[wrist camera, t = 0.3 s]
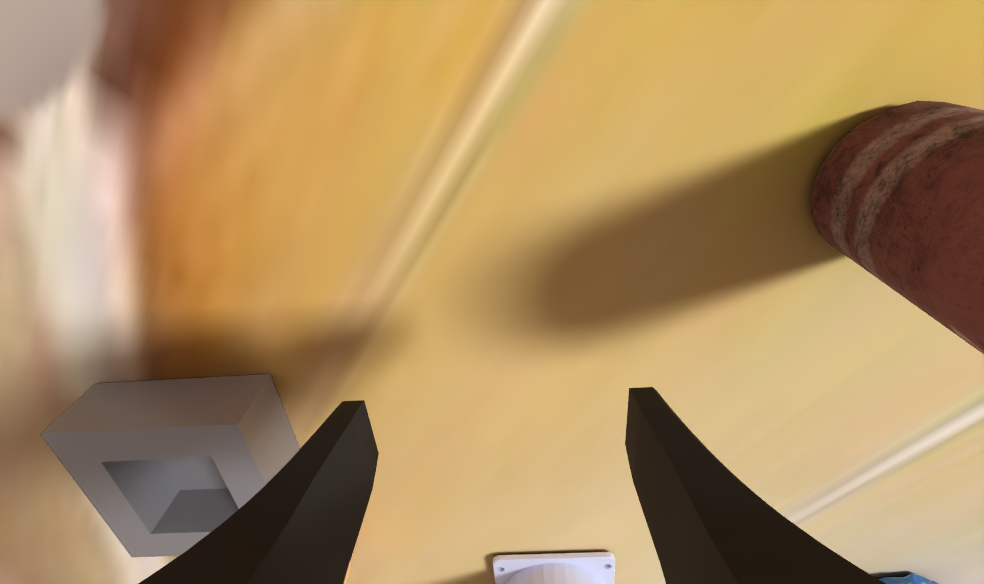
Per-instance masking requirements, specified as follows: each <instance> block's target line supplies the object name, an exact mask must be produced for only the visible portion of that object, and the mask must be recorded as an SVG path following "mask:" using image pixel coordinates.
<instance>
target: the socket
mask: <svg viewBox="0 0 984 584" xmlns="http://www.w3.org/2000/svg"><path fill="white" fill-rule="evenodd" d="M40 435H41V436H42V437H43V439H44V440H45V441H46V443H47V444H48V445H49V447H50V448H51V449H52V451H53V452H54V453H55V455H56V456H57V457H58V459H59V460H60V461H61V463H62V464H63V466H64V467H65V468H66V470H67V471H68V472H69V474H70V475H71V476H72V478H73V479H74V480H75V482H76V483H77V484H78V486H79V487H80V488H81V490H82V491H83V492H84V494H85V495H86V496H87V498H88V499H89V500H90V502H91V503H92V504H93V506H94V507H95V509H96V510H97V511H98V513H99V514H100V515H101V517H102V518H103V519H104V521H105V522H106V523H107V525H108V526H109V527H110V529H111V530H112V531H113V533H114V534H115V535H116V537H117V538H118V539H119V541H120V542H121V543H122V545H123V546H124V548H125V549H126V550H127V552H128V553H129V554H130V556H131V557H154V556H180V555H181V554H183V553H184V552H186V551H187V550H188V549H190V548H191V547H192V546H193V545H195V544H196V543H197V542H199V541H200V540H201V539H203V538H204V537H205V536H206V535H208V534H209V533H210V532H212V531H213V530H214V529H216V528H217V527H218V526H219V525H221V524H222V523H223V522H224V521H226V520H227V519H228V518H229V517H230V516H232V515H233V514H234V513H235V512H236V511H237V510H239V509H240V508H241V507H242V506H243V505H244V504H246V503H247V502H248V501H249V500H250V499H251V498H252V497H253V496H254V495H255V494H257V493H258V492H259V491H260V490H261V489H262V488H263V487H264V486H265V485H266V484H267V483H268V482H269V481H270V480H271V479H272V478H273V477H274V476H275V475H276V474H277V473H278V472H279V471H280V470H281V469H282V468H283V467H284V466H285V465H286V464H287V463H288V462H289V461H290V460H291V458H292V457H293V456H294V455H295V454H296V453H297V452H298V451H299V450H300V448H299V445H298V443H297V440H296V438H295V435H294V433H293V430H292V427H291V425H290V422H289V420H288V417H287V415H286V412H285V410H284V407H283V405H282V402H281V399H280V397H279V394H278V392H277V389H276V387H275V384H274V382H273V379H272V377H271V374H258V375H240V376H222V377H204V378H185V379H167V380H149V381H131V382H113V383H96V384H94V385H93V386H92V387H91V388H90V389H89V390H88V391H87V392H86V393H85V394H83V395H82V396H81V397H80V398H79V399H78V400H77V401H76V402H75V403H74V404H72V405H71V406H70V407H69V408H68V409H67V410H66V411H65V412H64V413H63V414H61V415H60V416H59V417H58V418H57V419H56V420H55V421H54V422H53V423H52V424H50V425H49V426H48V427H47V428H46V429H45V430H44V431H43V432H42V433H41V434H40Z"/></svg>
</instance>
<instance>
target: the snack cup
mask: <svg viewBox="0 0 984 584" xmlns="http://www.w3.org/2000/svg"><path fill="white" fill-rule="evenodd" d="M879 580H881V581H882V582H884V583H886V584H938V583H936V582H934V581H929V580H927V579H925V578H923V577H921V576H919V575H917V574H914V573H912V574H909V575H908V576H905V577H882V578H879Z"/></svg>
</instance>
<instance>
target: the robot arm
mask: <svg viewBox="0 0 984 584" xmlns="http://www.w3.org/2000/svg"><path fill="white" fill-rule="evenodd" d="M625 445H626V450H627V455H628V460H629V465H630V469H631V474H632V478H633V482H634V485H635V488H636V491H637V494H638V497H639V501H640V504H641V507H642V510H643V513H644V516H645V519H646V522H647V525H648V528H649V531H650V534H651V537H652V540H653V543H654V546H655V549H656V552H657V554H658V557H659V560H660V564H661V567H662V571H663V574H664V578H665V581H666V584H886V583H884V582H882V581H881V580H879V579H877V578H875V577H874V576H872V575H870V574H868V573H867V572H865V571H863V570H862V569H860V568H858V567H857V566H855V565H854V564H852V563H851V562H849V561H847V560H846V559H844V558H843V557H841V556H840V555H838V554H836V553H835V552H833V551H832V550H830V549H829V548H827V547H826V546H824V545H823V544H821V543H820V542H818V541H817V540H815V539H814V538H813V537H811V536H810V535H809V534H807V533H806V532H804V531H803V530H802V529H800V528H799V527H797V526H796V525H795V524H793V523H792V522H790V521H789V520H788V519H786V518H785V517H784V516H782V515H781V514H780V513H778V512H777V511H776V510H775V509H773V508H772V507H771V506H770V505H768V504H767V503H766V502H765V501H763V500H762V499H761V498H760V497H759V496H757V495H756V494H755V493H754V492H753V491H751V490H750V489H749V488H748V487H747V486H746V485H745V484H744V483H742V482H741V481H740V480H739V479H738V478H737V477H736V476H735V475H734V474H733V473H732V472H730V471H729V470H728V469H727V468H726V467H725V466H724V465H723V464H722V463H721V462H720V461H719V460H718V459H717V458H716V457H715V456H714V455H713V454H712V453H711V452H710V451H709V450H708V449H707V448H706V447H705V446H704V445H703V444H702V443H701V441H700V440H699V439H698V438H697V437H696V436H695V435H694V434H693V433H692V432H691V431H690V430H689V429H688V427H687V426H686V425H685V424H684V423H683V422H682V421H681V419H680V418H679V417H678V416H677V415H676V414H675V413H674V411H673V410H672V409H671V408H670V407H669V405H668V404H667V403H666V402H665V401H664V399H663V398H662V397H661V396H660V394H659V393H658V392H657V391H656V390H655V389H654V388H653V387H646V388H629V400H628V413H627V427H626V441H625ZM378 454H379V453H378V450H377V446H376V442H375V439H374V435H373V431H372V428H371V424H370V420H369V417H368V413H367V409H366V405H365V402H364V400H363V401H343V402H342V403H341V404H340V405H339V406H338V407H337V408H336V409H335V410H334V411H333V413H332V414H331V415H330V416H329V417H328V418H327V419H326V420H325V422H324V423H323V424H322V425H321V426H320V427H319V429H318V430H317V431H316V432H315V433H314V434H313V435H312V436H311V438H310V439H309V440H308V441H307V442H306V443H305V444H304V445H303V446H302V447H301V449H300V450H299V451H298V452H297V453H296V454H295V455H294V456H293V457H292V458H291V460H290V461H289V462H288V463H287V464H286V465H285V466H284V467H283V468H282V469H281V470H280V471H279V472H278V473H277V474H276V475H275V476H274V477H273V478H272V479H271V480H270V481H269V482H268V483H267V484H266V485H265V486H264V487H263V488H262V489H261V490H260V491H259V492H258V493H257V494H255V495H254V496H253V497H252V498H251V499H250V500H249V501H248V502H247V503H246V504H244V505H243V506H242V507H241V508H240V509H239V510H237V511H236V512H235V513H234V514H233V515H232V516H230V517H229V518H228V519H227V520H226V521H224V522H223V523H222V524H221V525H219V526H218V527H217V528H216V529H214V530H213V531H212V532H210V533H209V534H208V535H206V536H205V537H204V538H203V539H201V540H200V541H199V542H197V543H196V544H195V545H193V546H192V547H191V548H190V549H188V550H187V551H186V552H184V553H183V554H181V555H180V556H179V557H177V558H176V559H174V560H173V561H171V562H170V563H169V564H167V565H166V566H164V567H163V568H161V569H160V570H158V571H157V572H155V573H154V574H152V575H151V576H149V577H148V578H146V579H145V580H143V581H142V582H140V583H139V584H344V580H345V577H346V573H347V569H348V566H349V563H350V560H351V556H352V553H353V550H354V547H355V544H356V540H357V537H358V534H359V531H360V528H361V524H362V521H363V518H364V515H365V511H366V508H367V505H368V502H369V498H370V495H371V492H372V488H373V482H374V477H375V472H376V466H377V460H378ZM493 571H494V577H495V584H614V574H615V557H614V554H612V553H610V552H589V553H556V554H523V555H498V556H495V557H494V558H493Z"/></svg>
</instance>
